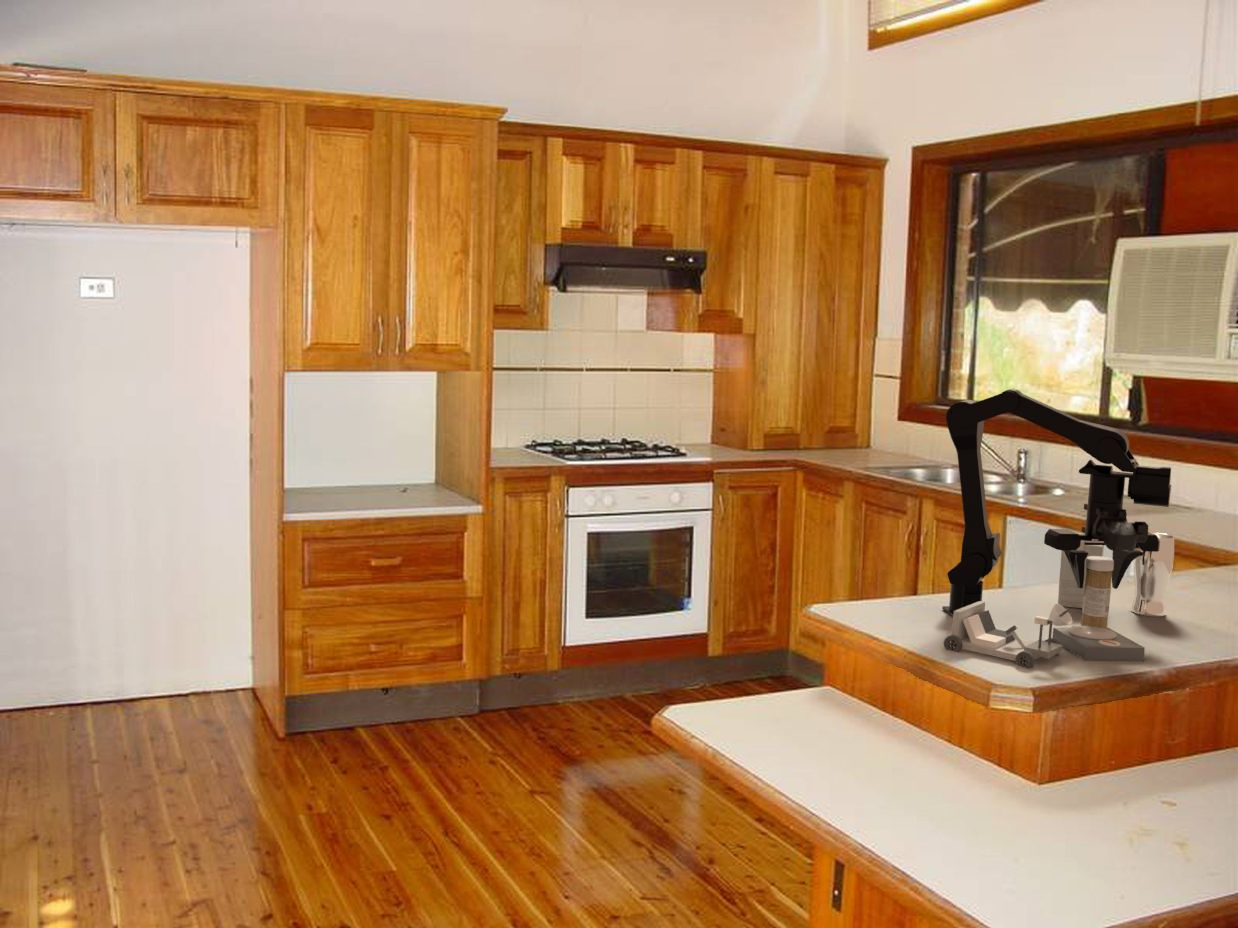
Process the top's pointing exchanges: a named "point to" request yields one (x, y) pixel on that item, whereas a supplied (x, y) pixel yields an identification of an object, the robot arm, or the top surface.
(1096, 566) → the sprinkles bottle
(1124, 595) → the top surface
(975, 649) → the toy go kart
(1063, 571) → the supplement box
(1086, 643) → the kitchen scale
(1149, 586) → the beer glass
